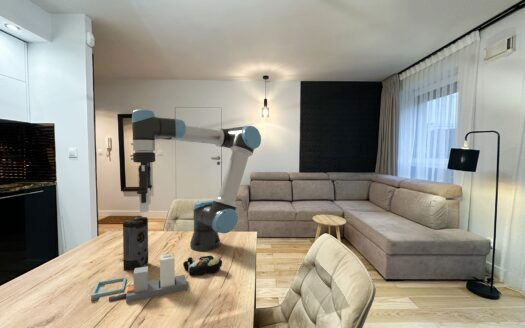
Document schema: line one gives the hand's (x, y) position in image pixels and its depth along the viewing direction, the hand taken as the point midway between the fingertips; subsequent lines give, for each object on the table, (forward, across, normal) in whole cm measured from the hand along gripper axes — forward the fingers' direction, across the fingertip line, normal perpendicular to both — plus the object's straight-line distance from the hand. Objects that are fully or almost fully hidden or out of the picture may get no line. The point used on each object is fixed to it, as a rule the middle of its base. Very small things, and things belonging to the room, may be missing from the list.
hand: (145, 207), depth 91 cm
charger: (+26, +14, +7) cm, 30 cm away
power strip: (+26, +14, +1) cm, 30 cm away
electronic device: (+27, -10, -5) cm, 29 cm away
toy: (+27, +4, +20) cm, 34 cm away
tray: (+26, +6, -11) cm, 29 cm away
